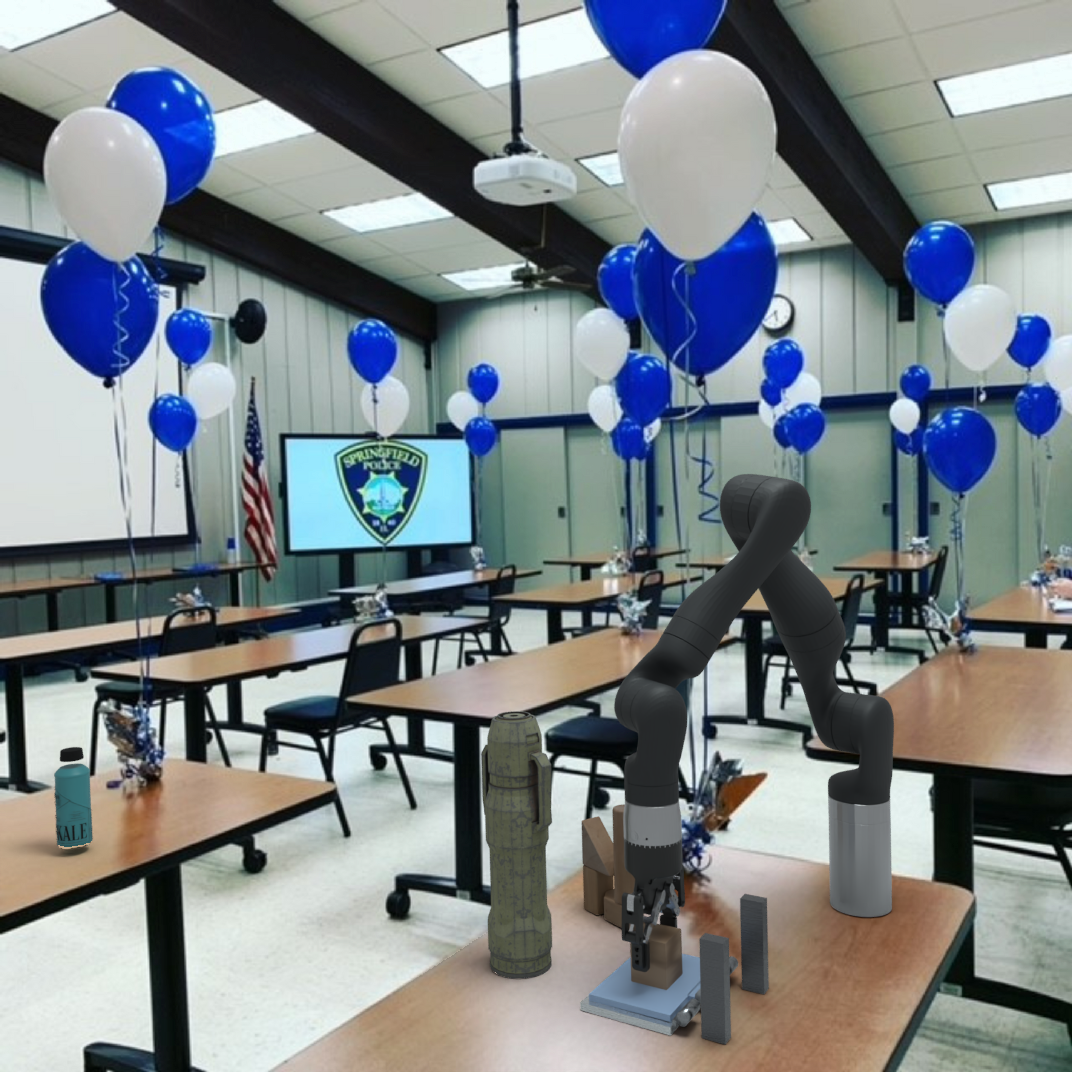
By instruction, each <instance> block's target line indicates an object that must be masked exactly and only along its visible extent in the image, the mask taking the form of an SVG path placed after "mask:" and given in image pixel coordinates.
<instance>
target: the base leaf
mask: <svg viewBox="0 0 1072 1072" xmlns="http://www.w3.org/2000/svg"><path fill="white" fill-rule="evenodd" d="M739 907H740V908H739V912H740V913H739V915H740V918H739V919H740V955H741V956H740V957H741V958H740V961H741V968H740V969H741V990H744V991H748V992H752V993H756V994H760V995H765V994H766V993H767V992H768V990H769V989H770V987H769V984H770V983H769V981H770V980H769V979H770V977H769V932H768V929H769V928H768V897H765V896H759V895H753V894H749V893H748V894H747V893H744V894H743V895H742V896H741V897H740V898H739ZM698 940H699V942H698V943H699V957H700V988H701V1004H700V1003H699V1001H698V1000H696V999H690V1000H689V1001H688V1002H687V1003H686V1005H685V1006H684V1007H683V1008H682V1009H681V1010H680V1011H679V1012H678V1013H677V1014H676V1016H675V1017H674V1018H673V1019H672V1021H671V1022H669V1021H665V1020H661V1019H657V1018H654V1017H650V1016H646V1015H642V1014H639V1013H635V1012H631V1011H627V1010H623V1009H620V1008H616V1007H612V1006H608V1005H605V1004H601V1003H597V1002H593V1001H590V1000H589V994H588V995H587V996H586V997H584V999H582V1000H581V1001H580V1002H579V1005H580V1007H579V1008H580V1009H579V1010H580V1011H582V1012H586V1013H590V1014H593V1015H597V1016H600V1017H603V1018H607V1019H611V1020H614V1021H617V1022H620V1023H624V1024H627V1025H628V1024H629V1025H631V1026H635V1027H639V1028H642V1029H646V1030H650V1031H653V1032H656V1033H661V1034H664V1035H666V1036H670V1037H671V1036H672V1035H673V1033H675V1032H676V1030H677V1029H679V1027H686V1026H687V1025H688V1024H689V1023H690V1022H691V1020H693V1018H694V1017H695V1016H696V1015H697V1014H698V1013H699V1011H700V1027H701V1028H700V1029H701V1032H700V1033H701V1038H702V1039H704V1040H708V1041H710V1042H713V1043H717V1044H718V1043H719V1044H722V1045H727V1043H728V1042H729V1041H730V1039H731V1038H732V1023H731V1022H732V1021H731V1020H732V1019H731V1017H732V1016H731V974H732V973H734V972H735V970H736V969H737V968H738V967H739V961H738V959H737V958H736V957H735V956H733V955H731V956H730V937H727V936H721V935H717V934H713V933H708V932H704V933H703V935H701V937H699V939H698Z"/></svg>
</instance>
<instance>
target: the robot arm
mask: <svg viewBox="0 0 1072 1072" xmlns="http://www.w3.org/2000/svg"><path fill="white" fill-rule="evenodd" d="M719 512H720V513H719V514H720V517H721V521H722V524H723V527H724V528H725V531H726V533H727V534H728V536H729V538H730V540H731V541H732V543H733V544H734V545H733V546H735V548H736V550H737V551H738V553H737V554H736V555H735V556H734V557H733V558H732V559H731V560H730V561H729V562H728V563H726V564H725V566H722V568H721V569H720V570H718V571H717V572H716V573H715V574H714V575H712V576H711V577H710V578H708V579H706V580H705V581H704V582H703V583H701V584H700V585H699V586H697V587H696V588H695V589H693V591H692V592H691V593H689V595H688V596H686V598H685V599H684V600H683V601H682V603H680V604H679V606H678V607H677V609H676V610H675V612H674V614H673V615H672V618H671V619H670V621H669V623H668V624H667V626H666V627H665V629H664V631H663V632H662V634H661V636H660V637H659V638H658V641H657V643H656V644H655V646H653V647H652V648H651V649H650V650H649V651H648V652H647V653H646V654H645V655H644V656H643V657H642V658H641V659H640V661H639V662H637V664H636V665H634V667H633V668H632V669H631V670H630V672H628V674H626V676H625V678H624V679H623V680H622V681H621V682H622V683H621V684H620V685H619V687H618V688H617V689H618V690H617V691H616V694H615V698H614V702H613V703H614V704H613V708H614V714H615V717H616V718H617V721H618V722H619V724H621V725H622V726H624V727H625V728H626V729H628V730H630V731H632V732H635V733H637V736H638V737H637V738H638V740H637V747H636V752H633V753H632V754H630V755H628V757H627V758H626V760H625V763H624V772H623V774H624V775H623V776H624V778H623V779H624V781H623V784H624V804H625V806H624V815H623V824H624V866H625V869H626V870H627V871H628V872H629V873H630V874H631V875H632V876H633V877H634V878H635V885H634V890H633V893H631V894H630V893H625V892H624V893H623V894H622V928H621V940H622V941H624V942H627V943H628V942H629V943H630V942H631V945H632V967H633V969H634V970H637V971H641V972H647V971H648V970H649V969H650V944H649V939H650V935H651V930H652V927H654V926H656V925H657V924H658V920H659V924H661V925H666V926H670V927H675V928H678V917H679V915H680V912H681V909H680V908H684V907H685V904H686V893H685V889H686V888H685V871H684V864H683V837H682V836H683V831H682V830H683V829H682V825H683V824H682V812H681V807H680V806H681V805H680V792H679V790H680V787H679V786H680V785H679V765H680V761H681V759H682V755H683V749H684V744H685V740H686V734H687V729H688V711H687V707H686V704H685V703H686V702H685V700H684V698H683V696H682V694H681V693H680V692H679V691H678V690H677V688H678V686H679V685H680V684H681V683H682V682H684V681H686V680H688V679H689V680H690V679H695V678H697V677H700V675H701V674H702V673H703V672H704V670H705V669H706V667H707V666H708V664H709V662H710V660H711V659H712V657H713V655H714V654H715V652H716V650H717V648H718V647H719V645H720V643H721V642H722V640H723V638H724V637H725V635H726V633H727V632H728V630H729V628H730V627H731V625H732V624H733V622H734V621H735V619H736V618H737V617H738V615H739V613H740V612H741V611H742V609H743V608H744V607H745V606H746V605H747V603H748V602H749V601H750V599H751V598H752V597H753V596H754V594H755V593H756V592H757V591H759V592H760V595H761V597H762V599H763V601H764V603H765V605H766V607H767V609H768V612H769V613H770V614H769V615H770V616H771V619H772V622H773V624H774V627H775V629H776V631H777V634H778V636H779V639H780V640H781V643H782V645H783V646H784V648H785V651H786V653H787V654H788V657H789V658H790V661H791V665H792V666H793V668H794V670H795V673H796V675H797V678H798V681H799V684H800V685H801V689H802V691H803V693H804V694H803V695H804V697H805V698H804V699H805V701H806V704H807V707H808V711H809V715H810V718H811V721H812V724H813V727H814V730H815V733H816V735H817V737H818V739H819V740H820V742H821V743H822V744H823V745H824V746H825V747H827V748H828V749H831V750H834V751H838V752H844V753H848V754H849V753H850V754H856V755H859V761H858V762H859V763H858V767H857V768H855V769H854V768H852V769H847V770H844V771H839V772H836V773H833V774H832V775H831V776H830V777H829V778H828V780H827V801H828V803H827V804H828V805H827V809H828V813H827V814H828V849H829V850H828V857H829V858H828V859H829V905H830V906H831V907H832V908H833V909H834V910H836V911H838V912H840V913H843V914H844V915H845V914H846V915H849V916H854V917H862V918H873V917H874V918H875V917H882V916H885V915H888V914H889V913H890V912H891V911H892V910H893V899H892V898H893V896H892V895H893V893H892V892H893V891H892V890H893V888H892V885H893V884H892V880H893V878H892V877H893V876H892V874H893V873H892V871H893V869H892V827H891V826H892V820H891V818H892V817H891V816H892V815H891V786H892V780H893V771H894V770H893V766H894V765H893V763H894V761H893V760H894V758H893V757H894V756H893V755H894V740H895V739H894V738H895V737H894V735H895V721H894V720H895V719H894V712H893V708H892V705H891V704H890V702H889V700H887V699H886V698H885V697H882V696H880V695H879V696H878V695H873V694H865V693H863V694H862V693H855V692H848V691H847V692H846V691H844V690H842V689H841V688H840V687H839V685H838V683H837V682H836V679H835V676H834V672H835V667H836V666H837V663H838V661H839V659H840V657H841V655H842V653H843V650H844V647H845V643H846V637H847V633H846V626H845V623H844V621H843V619H842V616H841V613H840V611H839V608H838V606H837V603H836V601H835V599H834V597H833V595H832V593H831V592H830V591H829V589H828V588H827V587H826V585H825V584H824V583H823V582H822V580H821V579H820V578H819V577H818V576H817V575H816V574H815V573H814V572H813V571H812V570H811V569H810V568H809V567H808V566H807V565H806V564H805V563H804V562H803V561H802V560H801V559H800V558H799V557H798V556H797V555H796V554H795V553H794V551H793V550H792V549H793V547H794V546H795V545H796V544H797V542H798V541H799V540H800V538H801V536H802V535H803V533H804V532H805V530H806V528H807V526H808V524H809V522H810V518H811V512H812V501H811V497H810V494H809V492H808V490H807V489H806V487H805V486H804V485H803V484H802V483H800V482H799V481H796V480H793V479H788V478H783V477H778V476H772V475H764V474H756V473H742V474H737V475H734V476H733V477H731V478H730V479H728V481H726V483H725V484H724V486H723V488H722V491H721V494H720V498H719ZM676 891H677V892H676ZM676 893H677V894H676ZM643 914H644V916H643ZM660 914H661V915H660ZM645 915H648V916H645ZM629 924H631V926H630V930H629ZM643 924H645V928H644V932H643Z"/></svg>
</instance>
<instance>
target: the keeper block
mask: <svg viewBox="0 0 1072 1072" xmlns="http://www.w3.org/2000/svg"><path fill="white" fill-rule="evenodd" d="M644 928H645V924H643V932H644ZM682 943H683V942H682V928H679V927H677V928H675V927H670V926H666V925H661V924H660V923H657V925H656V926H654V927H652V930H651V935H650V939H649V944H650V969H649V970H648V971H647V972H641V971H637V970H634V969H633V967H632V945H631V942H629V945H630V946H629V949H630V952H629V953H630V954H629V955H630V957H631V981H632V982H636V983H640V984H644V985H648V986H652V987H656V988H660V989H664V990H667V989H668V988H669V987H670V986H671V985H672V984H673V983H674V982H675V981H676V980H677V979H678V978H679V977H680V976H681V975H682V974H683V971H682V954H683V945H682Z"/></svg>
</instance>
